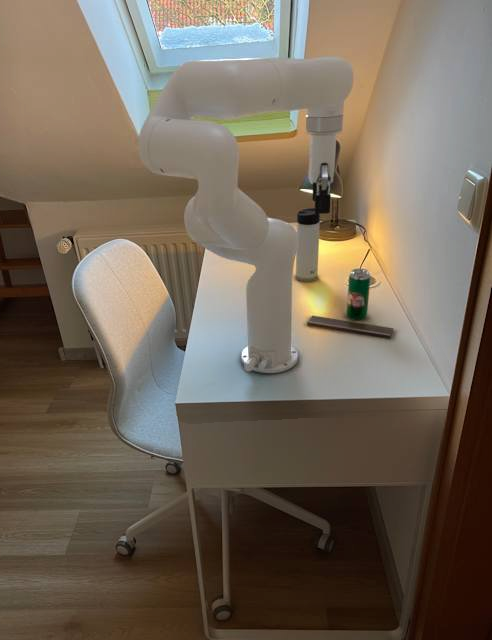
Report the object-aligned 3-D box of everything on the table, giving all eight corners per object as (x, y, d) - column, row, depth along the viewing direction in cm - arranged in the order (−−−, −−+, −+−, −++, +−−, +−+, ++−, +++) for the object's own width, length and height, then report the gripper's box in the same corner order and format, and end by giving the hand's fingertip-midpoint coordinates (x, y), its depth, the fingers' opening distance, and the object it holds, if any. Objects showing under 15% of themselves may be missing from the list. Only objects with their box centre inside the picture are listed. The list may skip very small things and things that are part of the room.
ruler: (390, 338, 127) (390, 335, 126) (307, 325, 135) (307, 322, 134) (393, 331, 130) (393, 327, 129) (312, 318, 138) (312, 315, 137)
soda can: (343, 318, 137) (346, 273, 130) (350, 310, 140) (354, 266, 134) (362, 322, 134) (366, 277, 128) (369, 314, 138) (374, 270, 131)
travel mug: (317, 282, 156) (320, 213, 146) (294, 281, 157) (296, 212, 147) (319, 273, 161) (322, 206, 151) (296, 273, 163) (298, 206, 152)
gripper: (304, 119, 121) (302, 196, 130) (307, 132, 107) (305, 218, 115) (338, 117, 120) (334, 195, 129) (346, 131, 106) (341, 218, 115)
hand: (320, 206), depth 122 cm, fingers open, 9 cm apart
